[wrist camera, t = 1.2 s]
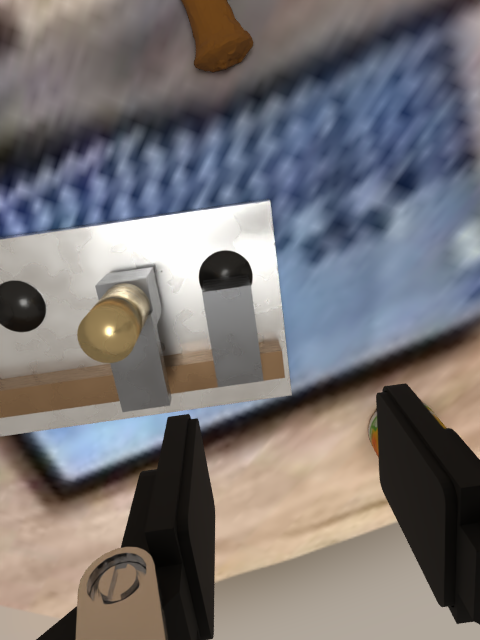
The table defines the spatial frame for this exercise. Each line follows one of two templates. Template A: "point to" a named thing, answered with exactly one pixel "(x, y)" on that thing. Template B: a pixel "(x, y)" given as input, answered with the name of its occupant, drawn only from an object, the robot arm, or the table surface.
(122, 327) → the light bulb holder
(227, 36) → the primitive tool
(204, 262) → the bolt plate
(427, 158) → the table surface
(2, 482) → the table surface
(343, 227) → the table surface
